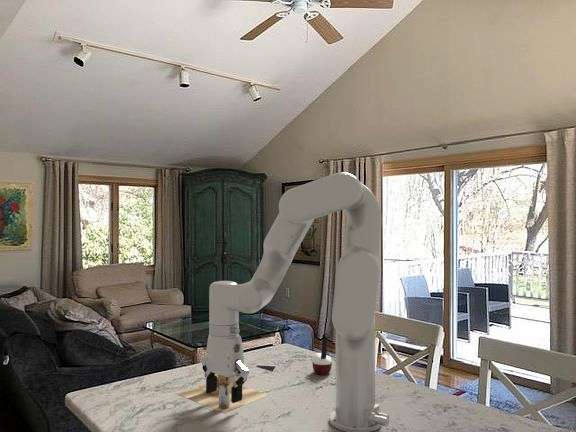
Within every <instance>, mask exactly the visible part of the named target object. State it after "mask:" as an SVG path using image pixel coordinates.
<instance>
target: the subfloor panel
mask: <svg viewBox="0 0 576 432" xmlns="http://www.w3.org/2000/svg"><path fill="white" fill-rule="evenodd" d="M176 395H178V396H180V397H182V398H185V399H187V400H190V401H192V402H195V403H197V404H200V405H202V406H205V407H208V408H210V409H213V410H215V411H218V412H220V413H223V414H226V413H228V412H229V413H230V412H231V411H233V410H236V409H238V408H242V407H244V406H245V405H248V404H251V403H253V402H255V401H258V400H260V399H263V398H265V397H267V396H269V394H267V393H264V392H261V391H258V390H255V389H252V388H248V387H246V386H243V385H242V400H241V401H238V402H236V403H232V402H231V393H230V407H229V408H224V409H223V408H219V391H214V392H212V393H209V394H208V393H206V383H205V384H202V385H199V386H195V387H193V388H191V389H187V390H184V391H181V392H179V393H176Z"/></svg>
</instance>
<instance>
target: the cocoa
mask: <svg viewBox="0 0 576 432" xmlns="http://www.w3.org/2000/svg"><path fill="white" fill-rule="evenodd" d="M328 343H329V339H328V338H323V339H322V344H321V345H322V346H321V352H316V353H314V354H313V355H312V359H311V360H312V362H311V363H312V369H313V371H314V373H315V374H316V375H319V376H326V375H328V374H329V373H330V372H331V371H332V367H333V366H332V365H333V364H332V358H331V356H329V355H327V353H328V345H329V344H328Z"/></svg>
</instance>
